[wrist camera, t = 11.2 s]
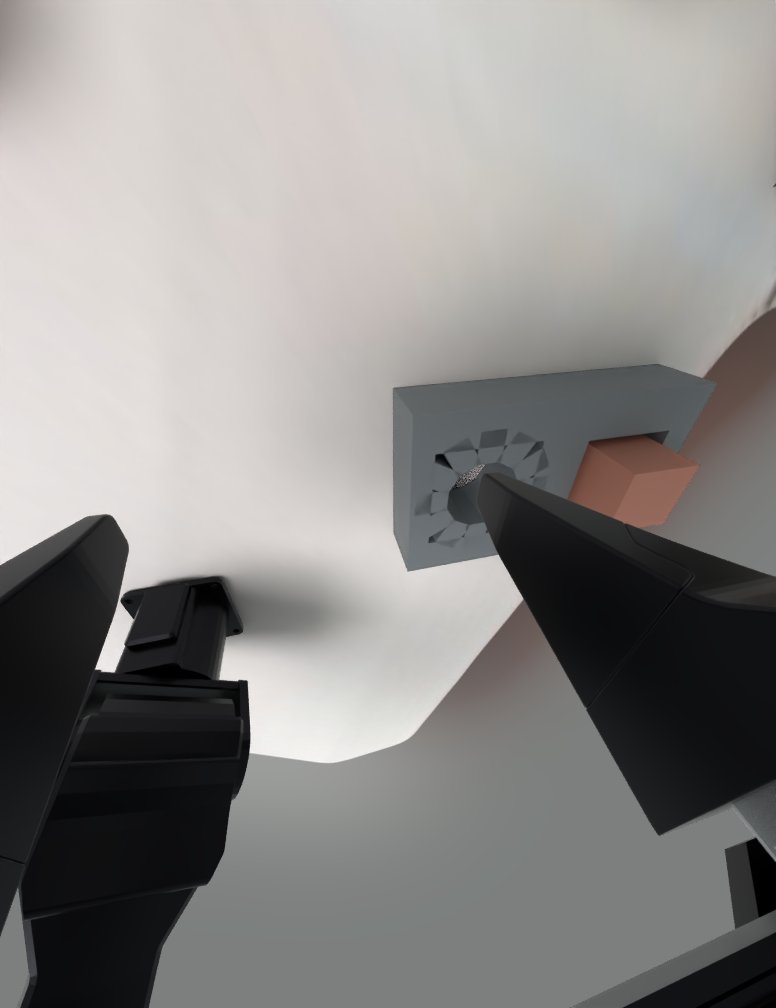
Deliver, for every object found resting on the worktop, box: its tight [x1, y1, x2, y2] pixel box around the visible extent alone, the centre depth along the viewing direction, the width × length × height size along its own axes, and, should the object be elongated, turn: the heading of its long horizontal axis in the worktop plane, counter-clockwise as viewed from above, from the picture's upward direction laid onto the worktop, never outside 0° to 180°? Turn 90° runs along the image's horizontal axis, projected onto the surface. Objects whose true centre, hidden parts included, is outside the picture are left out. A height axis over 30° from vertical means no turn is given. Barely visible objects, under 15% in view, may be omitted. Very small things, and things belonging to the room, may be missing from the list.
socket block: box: [393, 364, 717, 571], centre depth 23 cm, size 11×18×4 cm, turn 91°
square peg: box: [567, 434, 700, 528], centre depth 22 cm, size 4×4×7 cm
